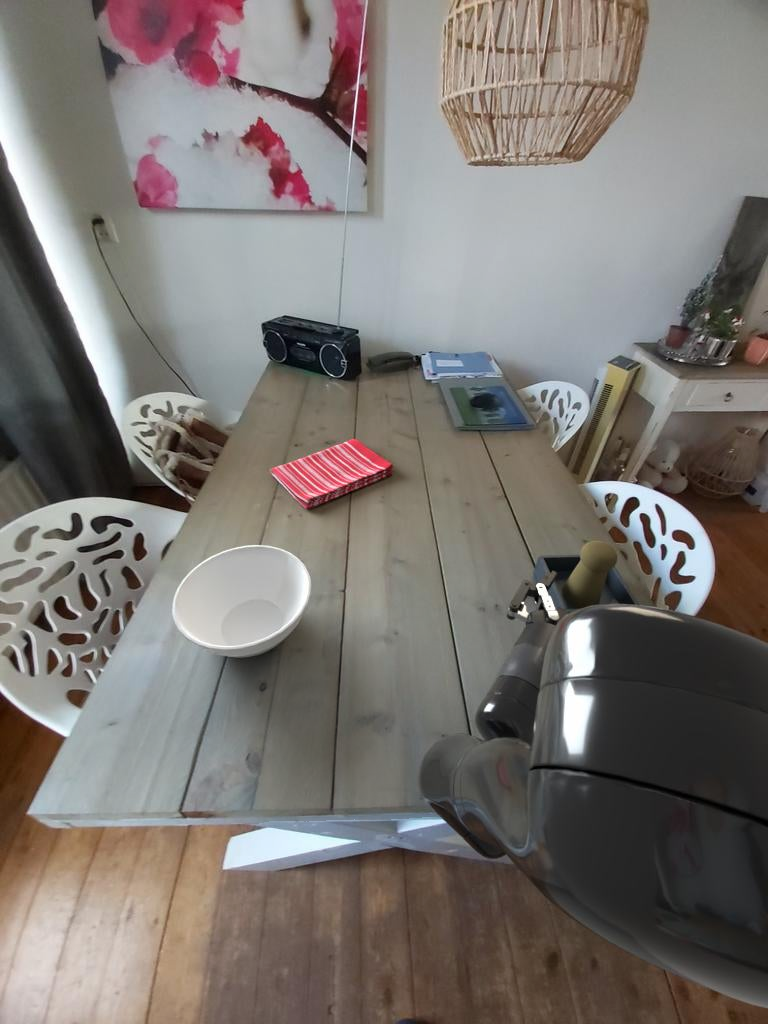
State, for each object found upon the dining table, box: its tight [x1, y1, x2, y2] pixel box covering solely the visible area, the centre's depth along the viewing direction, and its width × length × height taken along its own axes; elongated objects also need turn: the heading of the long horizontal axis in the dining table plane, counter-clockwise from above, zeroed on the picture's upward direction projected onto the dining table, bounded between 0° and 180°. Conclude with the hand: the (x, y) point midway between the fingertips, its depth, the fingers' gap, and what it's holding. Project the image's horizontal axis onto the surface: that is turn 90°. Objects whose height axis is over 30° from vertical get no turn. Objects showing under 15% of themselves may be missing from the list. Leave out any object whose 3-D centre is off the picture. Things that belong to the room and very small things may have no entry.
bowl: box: [171, 544, 312, 659], centre depth 66 cm, size 19×19×8 cm
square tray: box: [532, 554, 640, 613], centre depth 73 cm, size 12×12×4 cm
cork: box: [562, 540, 618, 609], centre depth 70 cm, size 6×6×11 cm
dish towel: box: [269, 438, 394, 511], centre depth 101 cm, size 17×24×3 cm
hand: (582, 589), depth 63 cm, fingers open, 8 cm apart
